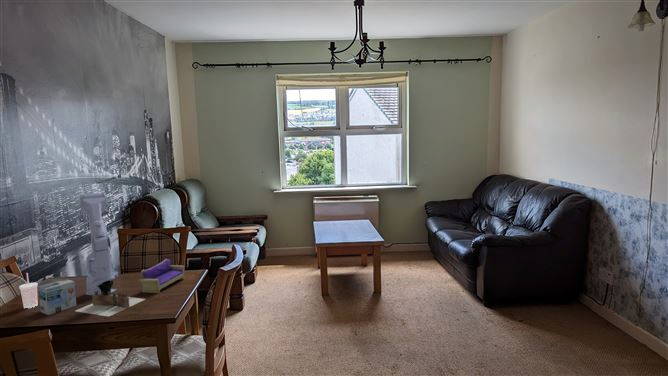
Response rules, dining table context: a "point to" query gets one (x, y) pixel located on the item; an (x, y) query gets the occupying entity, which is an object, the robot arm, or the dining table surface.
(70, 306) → the light bulb box
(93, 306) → the card
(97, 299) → the fence flap
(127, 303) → the fixed fence rail
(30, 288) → the beverage cup
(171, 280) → the toy sofa
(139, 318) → the dining table surface
